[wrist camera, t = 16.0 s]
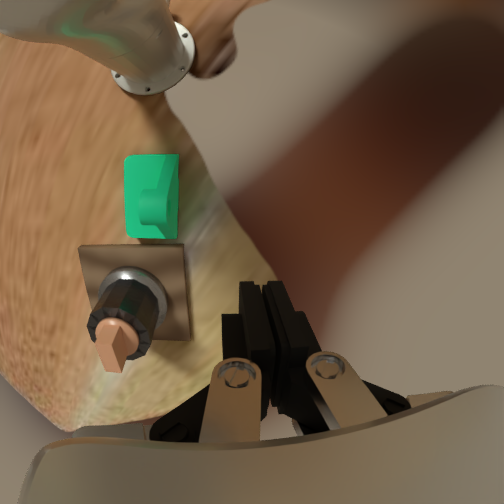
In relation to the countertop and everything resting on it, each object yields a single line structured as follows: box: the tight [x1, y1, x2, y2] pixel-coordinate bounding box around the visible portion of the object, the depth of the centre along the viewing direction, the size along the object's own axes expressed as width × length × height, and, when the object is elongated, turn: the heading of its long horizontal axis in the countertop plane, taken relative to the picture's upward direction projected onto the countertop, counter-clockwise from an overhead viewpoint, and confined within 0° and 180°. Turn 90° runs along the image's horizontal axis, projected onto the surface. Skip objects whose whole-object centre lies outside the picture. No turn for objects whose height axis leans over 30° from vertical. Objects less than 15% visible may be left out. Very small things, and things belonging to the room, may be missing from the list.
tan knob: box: [95, 317, 139, 373], centre depth 34 cm, size 6×6×9 cm
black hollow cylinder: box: [87, 266, 168, 360], centre depth 39 cm, size 12×12×10 cm
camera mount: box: [124, 154, 179, 239], centre depth 34 cm, size 12×8×10 cm, turn 176°
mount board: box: [78, 244, 191, 341], centre depth 44 cm, size 18×18×2 cm
